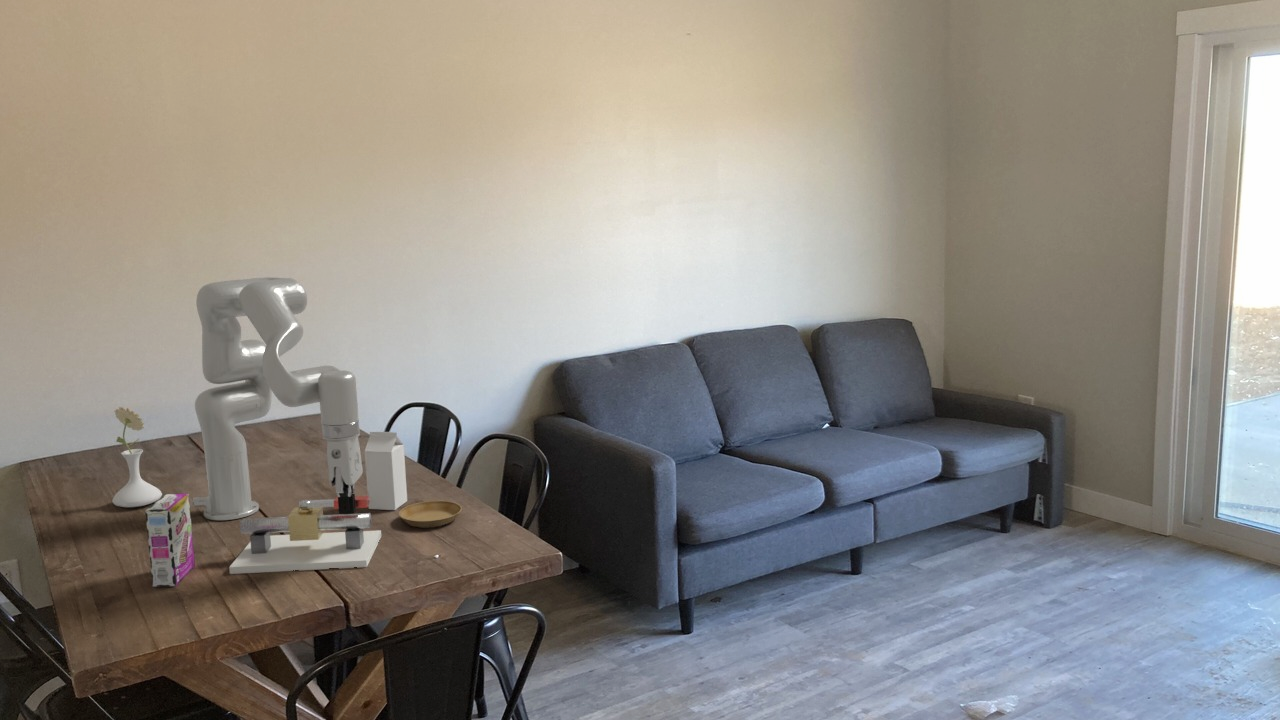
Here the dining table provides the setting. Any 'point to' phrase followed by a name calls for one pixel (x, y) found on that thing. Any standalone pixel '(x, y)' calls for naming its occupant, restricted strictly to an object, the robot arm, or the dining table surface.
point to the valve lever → (334, 503)
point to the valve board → (307, 554)
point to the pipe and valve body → (305, 527)
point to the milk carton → (385, 471)
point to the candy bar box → (170, 540)
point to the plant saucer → (430, 513)
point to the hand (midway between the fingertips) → (347, 512)
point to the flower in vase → (133, 468)
